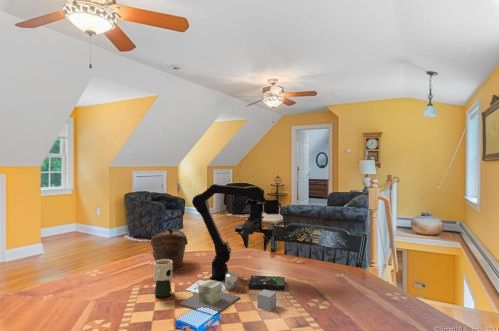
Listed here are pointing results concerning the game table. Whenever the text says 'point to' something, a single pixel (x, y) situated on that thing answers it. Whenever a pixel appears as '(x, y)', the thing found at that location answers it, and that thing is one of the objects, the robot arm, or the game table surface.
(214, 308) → the mat
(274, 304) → the slate block
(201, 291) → the sage block
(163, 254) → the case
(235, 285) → the metal tin
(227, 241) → the robot arm
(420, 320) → the game table surface
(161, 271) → the character mug
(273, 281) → the disk drive
